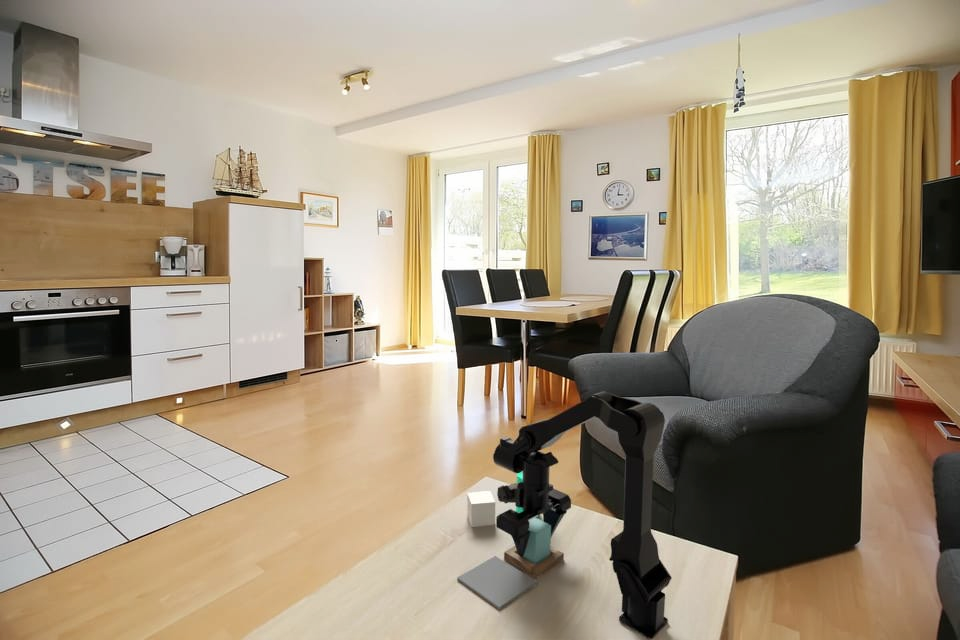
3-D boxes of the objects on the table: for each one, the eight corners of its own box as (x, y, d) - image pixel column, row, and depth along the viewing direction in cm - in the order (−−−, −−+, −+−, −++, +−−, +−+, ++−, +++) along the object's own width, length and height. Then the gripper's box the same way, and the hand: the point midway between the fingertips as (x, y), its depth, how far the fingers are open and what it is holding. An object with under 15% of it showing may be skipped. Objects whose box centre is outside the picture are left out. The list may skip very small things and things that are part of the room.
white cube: (489, 513, 130) (490, 490, 129) (495, 525, 124) (495, 502, 123) (467, 515, 129) (467, 492, 128) (471, 527, 123) (471, 504, 122)
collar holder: (563, 559, 110) (563, 553, 109) (536, 577, 103) (536, 571, 103) (531, 542, 116) (531, 536, 116) (504, 558, 110) (504, 551, 110)
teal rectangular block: (550, 559, 110) (550, 525, 109) (535, 569, 106) (536, 533, 105) (532, 549, 113) (533, 516, 112) (517, 558, 110) (518, 524, 109)
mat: (537, 583, 101) (537, 581, 101) (499, 609, 94) (499, 607, 94) (495, 558, 110) (495, 555, 110) (457, 579, 102) (457, 577, 102)
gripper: (535, 457, 120) (533, 518, 122) (478, 480, 107) (477, 548, 109) (573, 471, 112) (571, 537, 114) (517, 498, 99) (515, 572, 101)
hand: (534, 547), depth 109 cm, fingers open, 8 cm apart
